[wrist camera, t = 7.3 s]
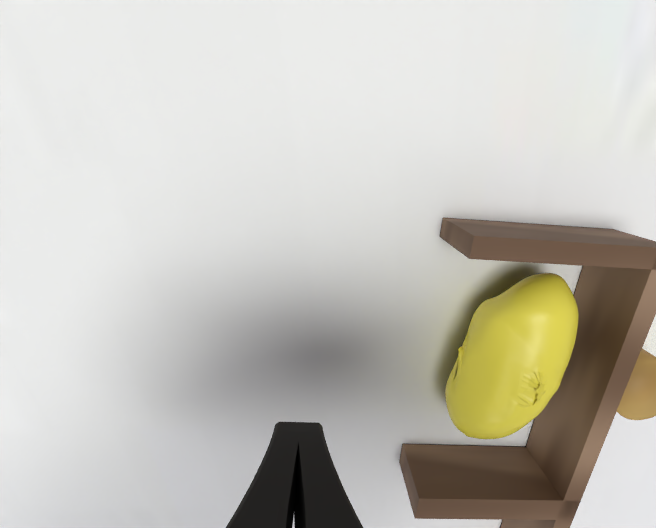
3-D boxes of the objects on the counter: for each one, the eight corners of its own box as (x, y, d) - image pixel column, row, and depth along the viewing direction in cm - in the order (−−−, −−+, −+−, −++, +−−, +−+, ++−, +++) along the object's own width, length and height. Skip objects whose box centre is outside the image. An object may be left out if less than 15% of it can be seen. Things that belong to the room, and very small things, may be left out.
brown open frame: (532, 606, 23) (562, 670, 21) (373, 607, 23) (382, 673, 20) (679, 233, 16) (761, 254, 13) (442, 217, 15) (474, 236, 12)
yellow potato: (410, 390, 18) (436, 456, 14) (495, 244, 15) (552, 277, 12) (483, 415, 18) (526, 484, 15) (574, 279, 16) (652, 319, 12)
